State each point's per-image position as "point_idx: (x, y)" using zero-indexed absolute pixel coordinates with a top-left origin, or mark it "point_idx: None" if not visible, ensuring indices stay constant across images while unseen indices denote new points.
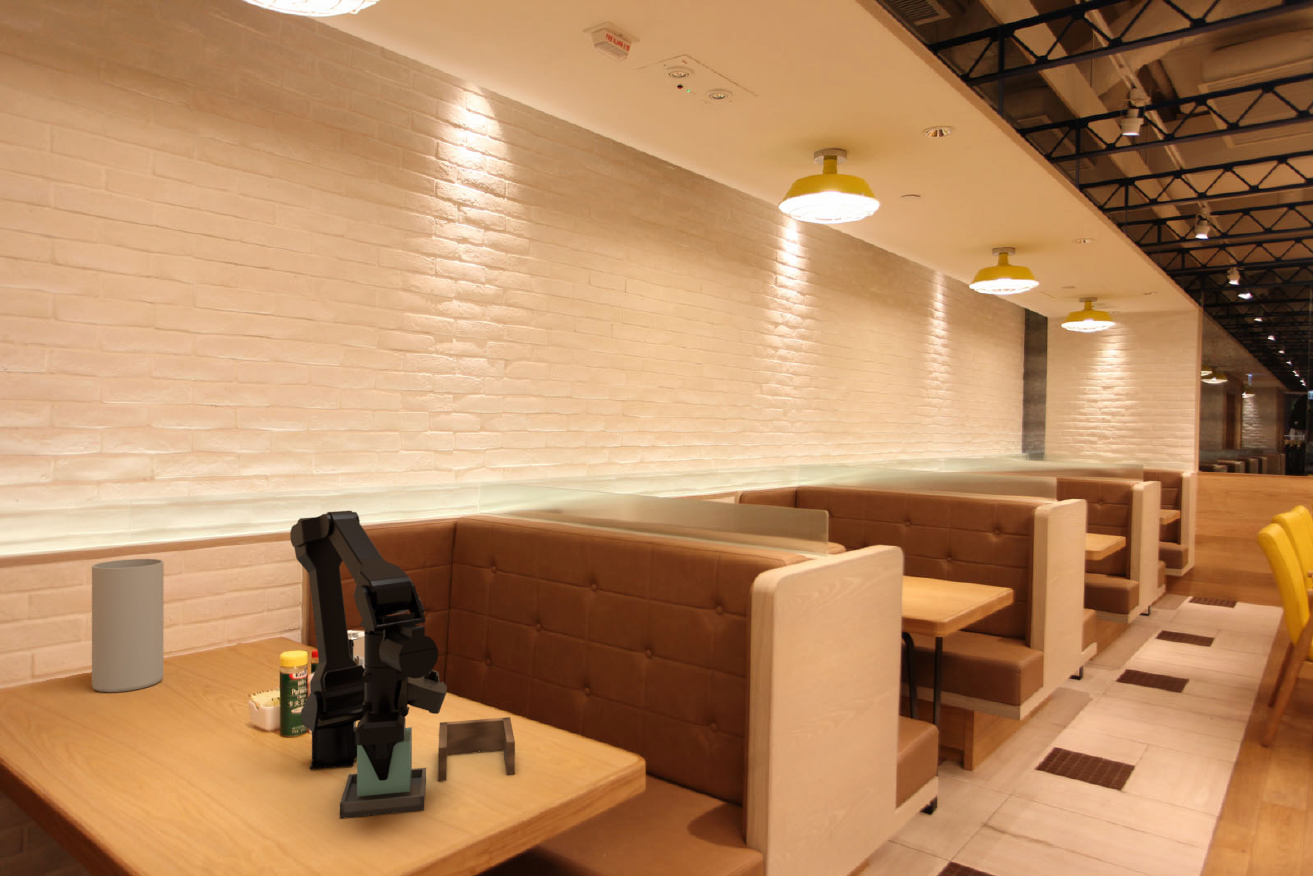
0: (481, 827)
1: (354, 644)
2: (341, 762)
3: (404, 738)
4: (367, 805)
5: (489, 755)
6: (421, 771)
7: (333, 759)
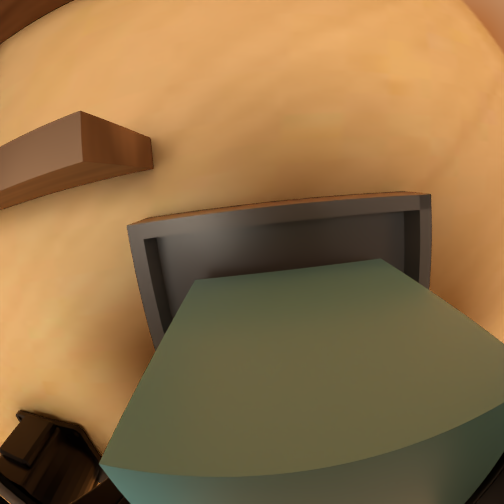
0: (480, 47)
1: None
2: (80, 447)
3: (455, 457)
4: None
5: (7, 66)
6: (146, 241)
7: (88, 465)
